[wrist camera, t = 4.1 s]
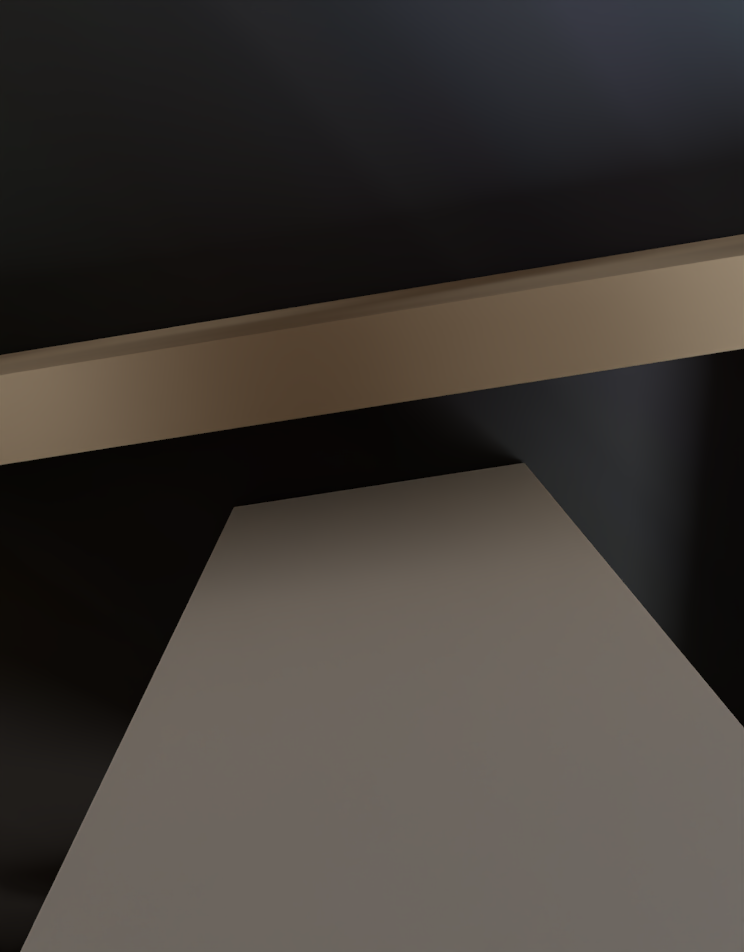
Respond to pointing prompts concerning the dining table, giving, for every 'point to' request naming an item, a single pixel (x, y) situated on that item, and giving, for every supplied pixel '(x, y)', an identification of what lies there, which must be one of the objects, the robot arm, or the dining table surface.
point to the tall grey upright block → (413, 747)
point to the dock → (374, 350)
